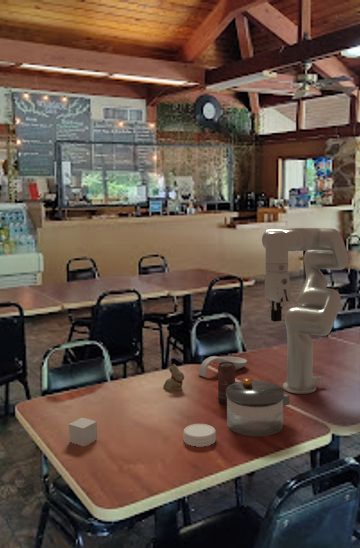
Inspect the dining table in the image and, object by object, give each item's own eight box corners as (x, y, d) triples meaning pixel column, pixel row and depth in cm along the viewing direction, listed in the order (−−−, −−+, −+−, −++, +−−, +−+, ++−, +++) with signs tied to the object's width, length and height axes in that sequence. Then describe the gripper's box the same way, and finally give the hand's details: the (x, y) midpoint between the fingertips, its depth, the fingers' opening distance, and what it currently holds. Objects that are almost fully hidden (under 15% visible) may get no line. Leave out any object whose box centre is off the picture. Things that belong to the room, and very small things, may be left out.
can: (234, 404, 200) (234, 366, 198) (217, 403, 201) (216, 366, 199) (236, 398, 206) (236, 361, 204) (219, 397, 207) (219, 360, 205)
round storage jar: (259, 401, 202) (259, 375, 201) (299, 429, 179) (300, 399, 177) (208, 410, 195) (208, 383, 193) (243, 440, 171) (243, 409, 170)
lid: (265, 382, 194) (265, 372, 193) (295, 400, 176) (295, 389, 176) (216, 390, 187) (216, 379, 186) (243, 409, 170) (243, 398, 169)
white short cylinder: (205, 450, 166) (205, 439, 165) (177, 443, 171) (177, 432, 171) (221, 437, 174) (221, 427, 174) (193, 431, 179) (193, 420, 179)
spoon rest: (233, 362, 250) (233, 346, 248) (252, 368, 240) (252, 352, 239) (192, 373, 235) (192, 357, 234) (211, 381, 226) (211, 363, 225)
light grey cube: (84, 447, 169) (83, 428, 168) (69, 442, 172) (68, 424, 172) (97, 439, 174) (96, 421, 173) (83, 435, 177) (82, 417, 177)
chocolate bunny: (174, 393, 212) (174, 367, 211) (161, 388, 218) (161, 363, 217) (185, 389, 216) (185, 364, 215) (172, 384, 222) (172, 360, 220)
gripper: (298, 270, 185) (297, 324, 187) (274, 264, 198) (274, 315, 201) (278, 271, 182) (278, 326, 185) (255, 266, 195) (255, 317, 198)
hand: (276, 320), depth 193 cm, fingers closed
